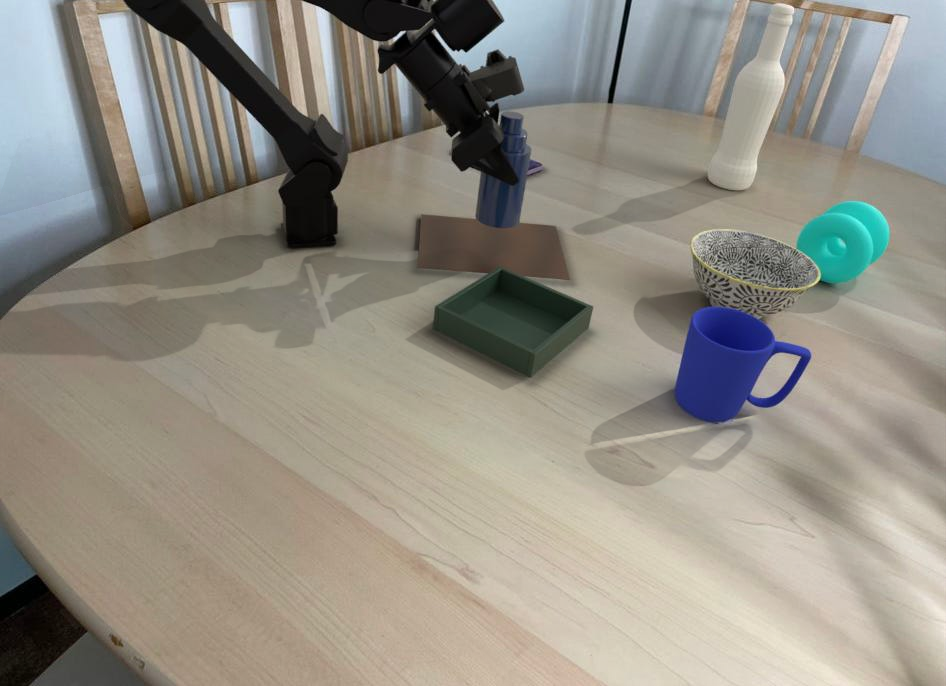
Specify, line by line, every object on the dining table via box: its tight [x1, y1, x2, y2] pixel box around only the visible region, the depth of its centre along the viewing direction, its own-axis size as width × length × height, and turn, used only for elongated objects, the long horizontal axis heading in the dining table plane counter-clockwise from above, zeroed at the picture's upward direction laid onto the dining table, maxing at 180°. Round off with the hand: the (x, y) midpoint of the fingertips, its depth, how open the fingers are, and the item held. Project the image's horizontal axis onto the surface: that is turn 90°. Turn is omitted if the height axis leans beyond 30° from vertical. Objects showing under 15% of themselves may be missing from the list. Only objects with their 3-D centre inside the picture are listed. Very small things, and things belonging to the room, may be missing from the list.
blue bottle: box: [474, 110, 532, 228], centre depth 96 cm, size 6×6×14 cm
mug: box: [674, 306, 812, 424], centre depth 76 cm, size 8×12×10 cm
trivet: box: [417, 213, 571, 281], centre depth 103 cm, size 20×16×1 cm
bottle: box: [707, 2, 795, 192], centre depth 126 cm, size 8×8×30 cm
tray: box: [432, 266, 594, 378], centre depth 86 cm, size 13×13×4 cm
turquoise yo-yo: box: [795, 200, 890, 284], centre depth 106 cm, size 10×10×10 cm
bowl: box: [689, 228, 821, 320], centre depth 95 cm, size 16×16×8 cm
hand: (514, 173), depth 96 cm, fingers closed on blue bottle, 6 cm apart
